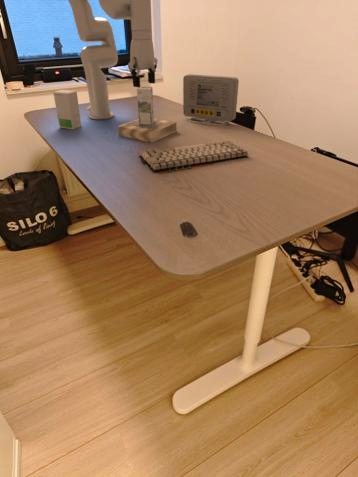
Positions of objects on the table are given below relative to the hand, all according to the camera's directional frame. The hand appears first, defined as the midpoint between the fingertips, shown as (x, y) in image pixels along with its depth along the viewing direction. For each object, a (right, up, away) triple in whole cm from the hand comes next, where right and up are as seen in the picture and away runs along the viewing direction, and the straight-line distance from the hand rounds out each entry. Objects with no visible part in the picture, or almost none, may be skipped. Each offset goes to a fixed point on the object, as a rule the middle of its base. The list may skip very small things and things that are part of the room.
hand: (144, 84), depth 137 cm
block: (+16, -61, -54) cm, 84 cm away
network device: (+28, -6, +25) cm, 39 cm away
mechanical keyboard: (+20, -34, -13) cm, 41 cm away
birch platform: (+1, -16, +11) cm, 20 cm away
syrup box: (0, -13, +8) cm, 16 cm away
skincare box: (-36, -11, +20) cm, 43 cm away
